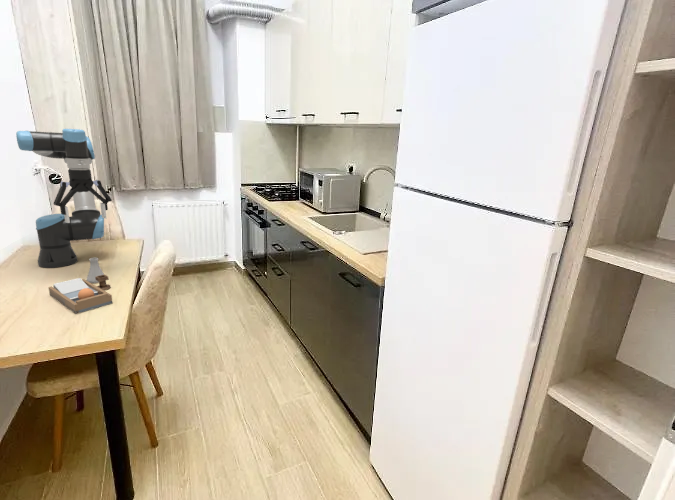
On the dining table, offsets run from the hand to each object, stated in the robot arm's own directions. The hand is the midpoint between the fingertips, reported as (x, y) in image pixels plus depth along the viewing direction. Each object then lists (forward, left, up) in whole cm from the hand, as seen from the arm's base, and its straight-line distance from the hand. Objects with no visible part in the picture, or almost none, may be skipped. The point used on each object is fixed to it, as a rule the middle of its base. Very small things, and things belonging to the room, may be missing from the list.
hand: (86, 220), depth 151 cm
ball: (+27, -13, -22) cm, 37 cm away
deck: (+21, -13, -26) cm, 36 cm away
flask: (+5, -1, -26) cm, 26 cm away
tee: (+16, -3, -26) cm, 30 cm away
